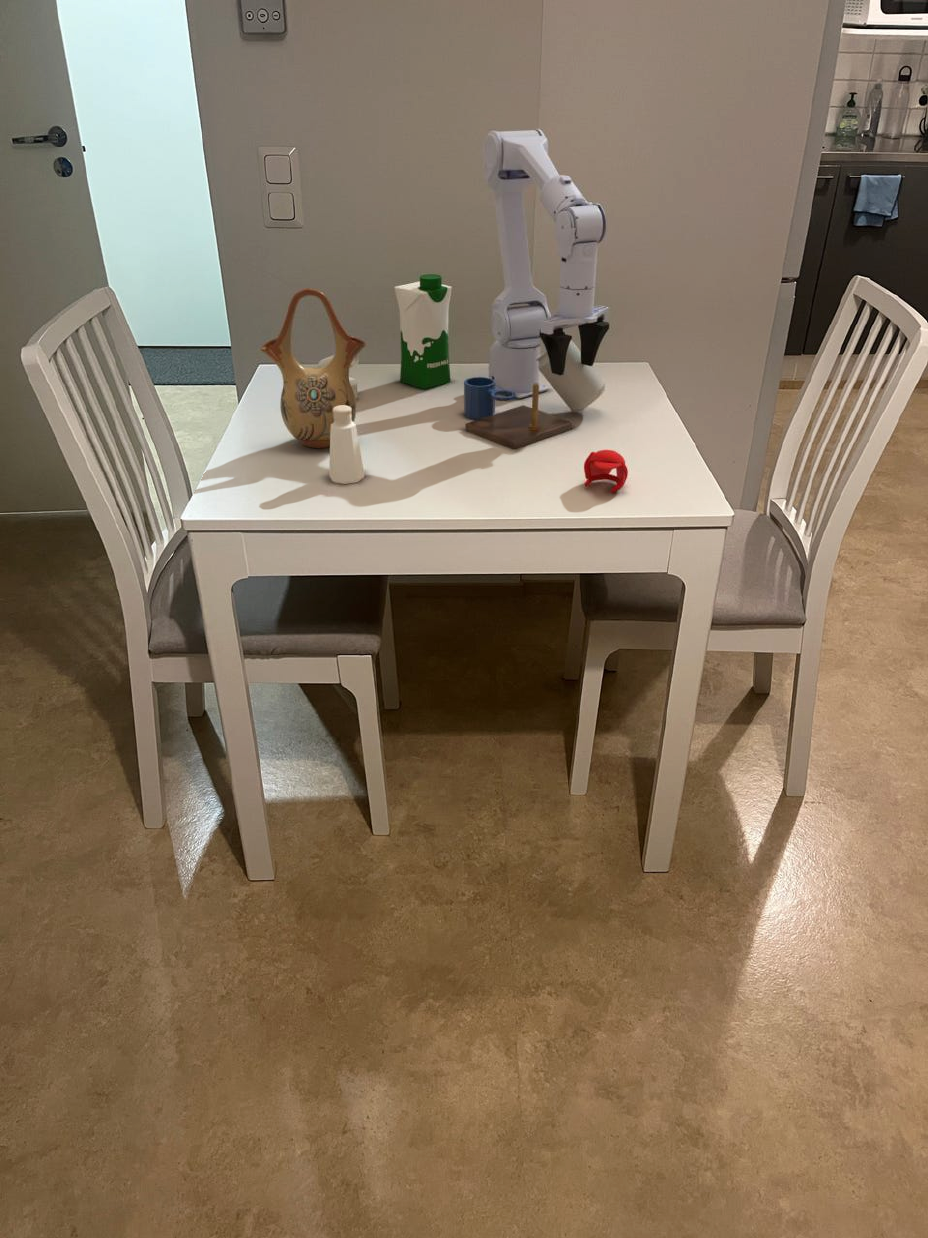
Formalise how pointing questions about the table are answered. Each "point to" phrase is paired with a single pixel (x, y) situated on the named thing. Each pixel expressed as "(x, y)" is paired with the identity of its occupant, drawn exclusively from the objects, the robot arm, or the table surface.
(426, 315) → the milk carton
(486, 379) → the cup
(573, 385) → the can
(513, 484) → the table surface
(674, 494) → the table surface
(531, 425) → the peg stand
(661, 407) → the table surface
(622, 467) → the red hollow rounded piece
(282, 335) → the ceramic vessel
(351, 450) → the pepper shaker
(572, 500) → the table surface
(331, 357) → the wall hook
